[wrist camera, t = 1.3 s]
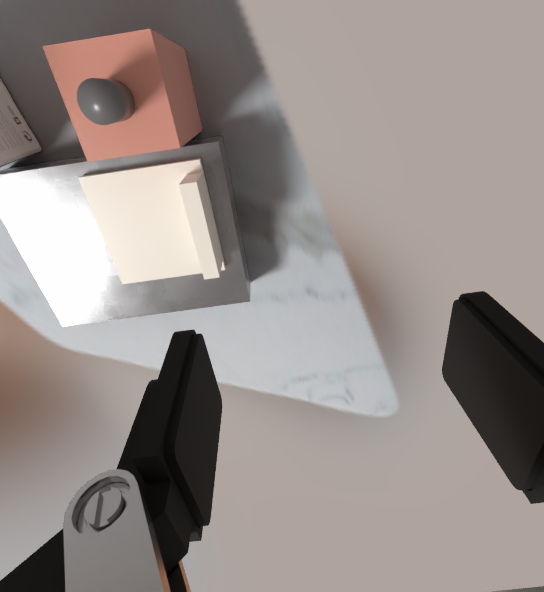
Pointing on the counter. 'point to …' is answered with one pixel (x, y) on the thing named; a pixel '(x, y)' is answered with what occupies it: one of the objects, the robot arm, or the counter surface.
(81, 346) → the counter surface
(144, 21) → the counter surface
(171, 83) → the plug
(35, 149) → the skincare box
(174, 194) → the cream stepped block
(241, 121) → the counter surface
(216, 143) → the socket
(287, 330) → the counter surface
